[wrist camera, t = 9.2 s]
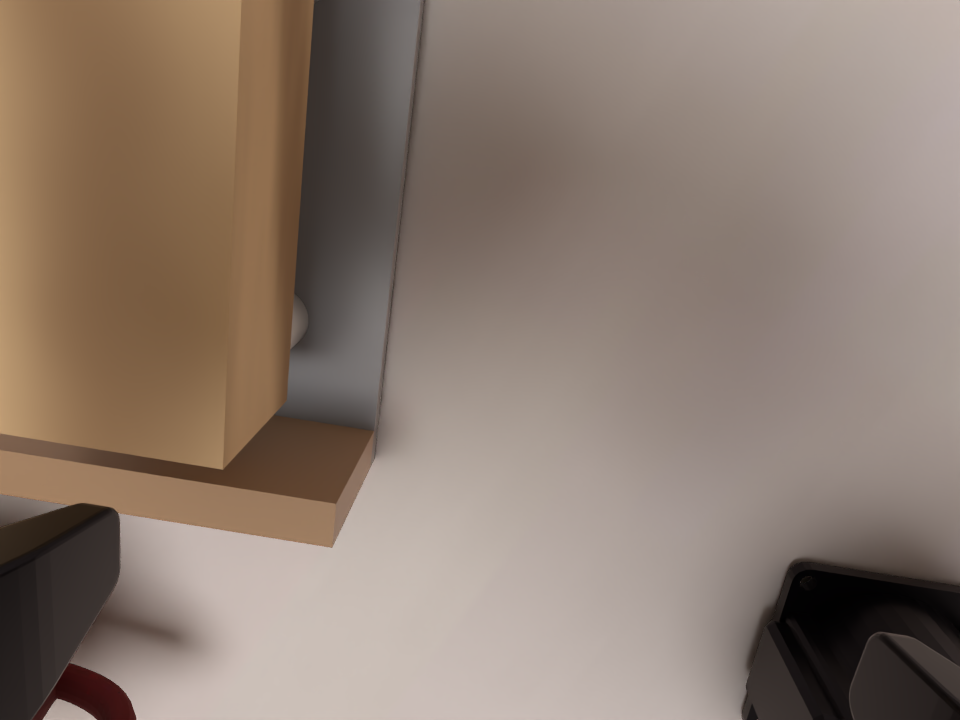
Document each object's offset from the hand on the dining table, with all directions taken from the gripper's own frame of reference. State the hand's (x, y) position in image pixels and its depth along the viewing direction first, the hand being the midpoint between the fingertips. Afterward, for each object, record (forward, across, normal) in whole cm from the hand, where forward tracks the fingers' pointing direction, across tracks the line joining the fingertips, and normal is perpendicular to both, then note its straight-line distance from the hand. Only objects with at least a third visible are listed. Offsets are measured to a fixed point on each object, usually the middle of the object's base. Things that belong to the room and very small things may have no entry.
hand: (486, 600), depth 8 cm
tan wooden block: (+10, +8, -4) cm, 13 cm away
